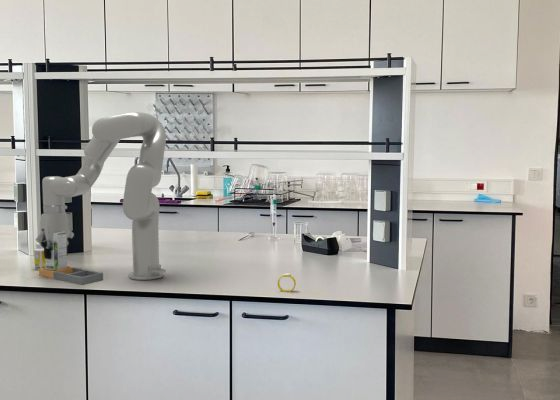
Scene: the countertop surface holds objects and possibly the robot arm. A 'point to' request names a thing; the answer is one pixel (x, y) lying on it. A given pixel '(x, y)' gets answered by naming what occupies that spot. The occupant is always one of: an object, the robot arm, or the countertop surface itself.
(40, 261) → the supplement bottle
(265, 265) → the countertop surface
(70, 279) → the compartment tray
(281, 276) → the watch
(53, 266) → the syrup box
